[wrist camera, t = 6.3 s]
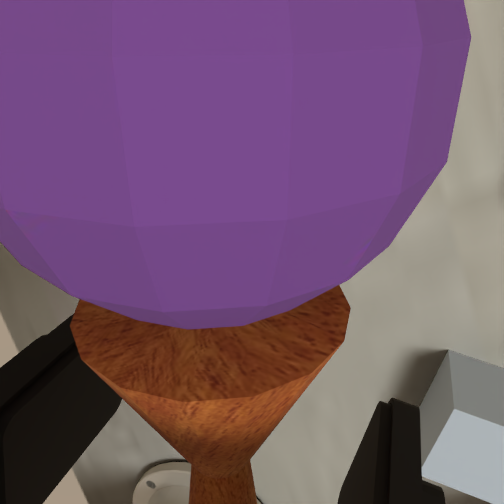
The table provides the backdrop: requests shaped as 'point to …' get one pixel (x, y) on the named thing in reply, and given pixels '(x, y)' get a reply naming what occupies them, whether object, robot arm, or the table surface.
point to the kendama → (218, 190)
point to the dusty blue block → (465, 427)
